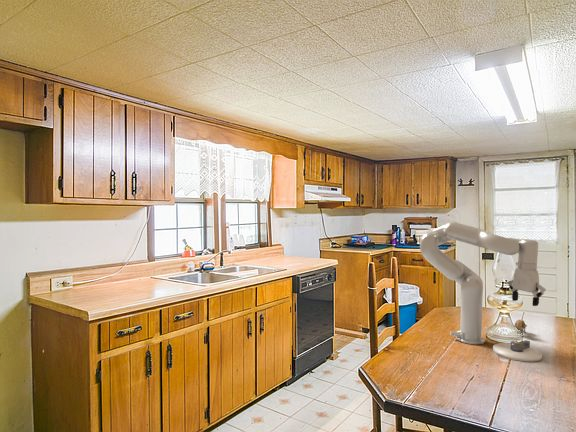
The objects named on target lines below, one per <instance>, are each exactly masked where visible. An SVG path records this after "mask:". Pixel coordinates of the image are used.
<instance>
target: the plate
mask: <svg viewBox="0 0 576 432" xmlns="http://www.w3.org/2000/svg"><path fill="white" fill-rule="evenodd" d="M492 351H493V353H495V354H496V355H498V356H500V357H503V358H505V359H508V360H512V361H516V362H524V363H526V362H527V363H533V362H535V363H537V362H539V361H541V360H542V359H543V354H542V352H541V351H540V350H537V349H536V348H534V347H531V346H530V348H527V349H523V352H516V351H513V350H511V342H510V343H509V342H501V343H500V342H499V343H495V344H493V346H492Z"/></svg>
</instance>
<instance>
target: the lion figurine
mask: <svg viewBox="0 0 576 432" xmlns="http://www.w3.org/2000/svg"><path fill="white" fill-rule="evenodd" d="M515 327H516V328H517V329H518V330H520V331H519V332H520V334H521V333H522V335H523V334H525V333H526V328H527V327H528V325H527V324H526V323H525V320H524V319H517V320H516V321H515V323H514V328H515ZM523 337H524V335H523Z"/></svg>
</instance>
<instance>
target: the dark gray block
mask: <svg viewBox="0 0 576 432" xmlns="http://www.w3.org/2000/svg"><path fill="white" fill-rule="evenodd" d="M510 343H511V350H513V351H516V352H523V349H527V348H530V347H531V346H530V345H531V341H530V340H526V339H525V340H522V341H513V340H512V341H510Z"/></svg>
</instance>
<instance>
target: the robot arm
mask: <svg viewBox="0 0 576 432" xmlns="http://www.w3.org/2000/svg"><path fill="white" fill-rule="evenodd" d="M420 238H421V239H420V241H419V249H420V253H421V256H422V257H423V258H424V259H425V260H426V261H427V262H428V263H429V264H430V265H432V266H433V267H434V268H435V269H436V270H438V272H439V273H441V274H442V275H444V277H446V278H447V279H448V280H451V281H455V282H456V283H457V284H459V285H460V321H459V322H460V324H459V325H460V327H459V328H458V330H456V331H451V330H450V331H449V335H450V336H454V337H456V340H457V341H459V342H461V343H463V344H468V345H469V344H470V345H475V346H476V345H477V346H478V345H483V344H485V343H486V340H485V338H484V337H482V331H483V330H482V329H483V327H482V325H483V293H484V284H483V283H484V282H483V280H482V278H481V276H480V275H478V274H477V273H476V272H474V271H473V270H472V269H471V268H470V267H468V266H467V265H465V264H464V263H463V262H462V261H460V260H457V259H453V258H452V257H450V256H449V255H447V254H446V253H444V252H443V251H442V250H441V249H440V248H439V246H441V245H442V244H445V243H447V242H449V241H451V240H454V241H458V242H461V243H465V244H469V245H472V246H475V247H478V248H482V249H486V250H489V251H492V252H497V253H499V254H503V255H507V256H513V255H517V254H518V255H517V256H518V259H517V262H515V265H516V266H517V267H516V268H515V270H514V273H513V279H512V280H508V281H507V284H508V286H509V289H510V290H511V297H512V298H511V300H512V301H513V302H515V301H518V300H519V291H521V292H527V293H532V296H533V297H532V306H533V307H537V306H539V303H540V298H541V296H543V295H544V293H545V292H546V288H545V287H543V286H542V285H541V284H540V277H539V276H540V275H539V270H537V269H538V252H539V251H538V250H539V242H538V241H537V240H536V239H535V240H534V239H520V238H519V239H518V238H514V237H504V236H502V235H498V234H494V233H491V232H488V231H486V230H484V229H481V228H480V227H479V228H478V227H475V226H470V225H467V224H463V223H460V222H457V221H450V222H449V221H448V222H447V223H445V224H444V225H441V226H440V227H437V228H435V229H433V230H430V231H428V232H426V233H424V234H423V235H422V236H421V237H420Z"/></svg>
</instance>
